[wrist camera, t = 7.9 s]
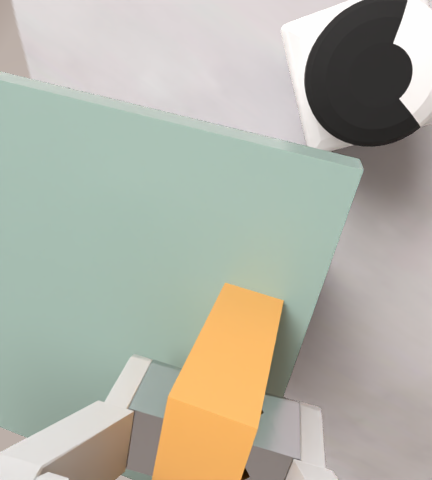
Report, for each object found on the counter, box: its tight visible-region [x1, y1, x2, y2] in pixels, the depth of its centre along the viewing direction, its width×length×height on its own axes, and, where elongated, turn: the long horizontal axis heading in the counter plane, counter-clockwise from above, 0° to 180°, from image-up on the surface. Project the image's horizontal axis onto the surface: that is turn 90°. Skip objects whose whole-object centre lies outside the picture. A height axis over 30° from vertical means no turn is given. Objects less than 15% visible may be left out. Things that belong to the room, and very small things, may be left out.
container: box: [281, 0, 432, 152], centre depth 24 cm, size 8×8×13 cm
